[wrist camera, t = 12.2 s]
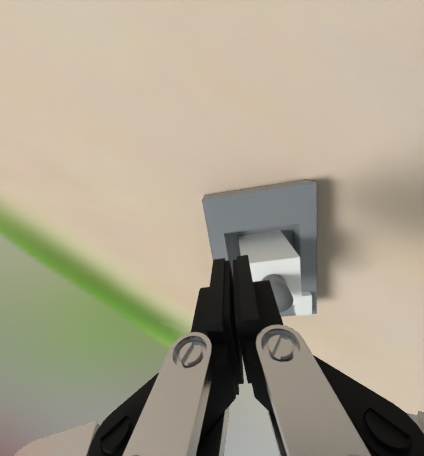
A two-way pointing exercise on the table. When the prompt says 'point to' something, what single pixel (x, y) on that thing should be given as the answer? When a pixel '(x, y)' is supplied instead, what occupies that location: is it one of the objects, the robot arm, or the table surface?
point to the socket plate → (269, 227)
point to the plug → (274, 265)
